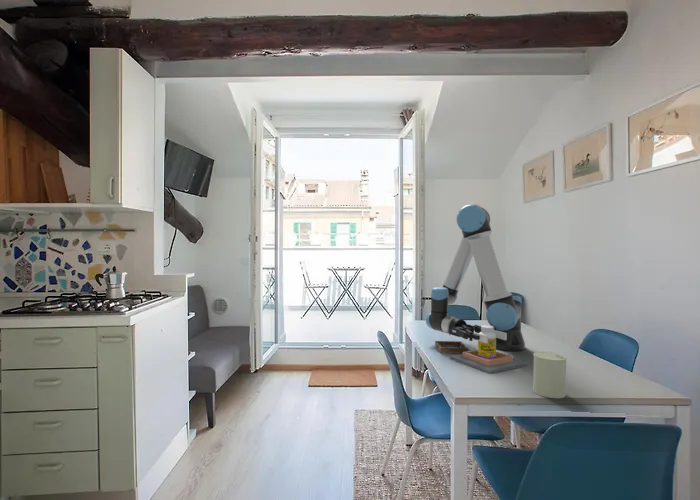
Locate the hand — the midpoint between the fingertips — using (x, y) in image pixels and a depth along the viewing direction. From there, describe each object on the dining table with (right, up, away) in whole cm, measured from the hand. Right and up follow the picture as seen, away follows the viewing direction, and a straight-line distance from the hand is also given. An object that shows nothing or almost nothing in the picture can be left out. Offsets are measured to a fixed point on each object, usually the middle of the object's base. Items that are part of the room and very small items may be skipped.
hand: (496, 338), depth 146 cm
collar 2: (-2, -10, +4) cm, 11 cm away
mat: (-2, -10, +4) cm, 11 cm away
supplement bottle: (-2, -9, +4) cm, 11 cm away
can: (+6, -11, -26) cm, 29 cm away
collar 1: (-12, -10, +22) cm, 26 cm away
